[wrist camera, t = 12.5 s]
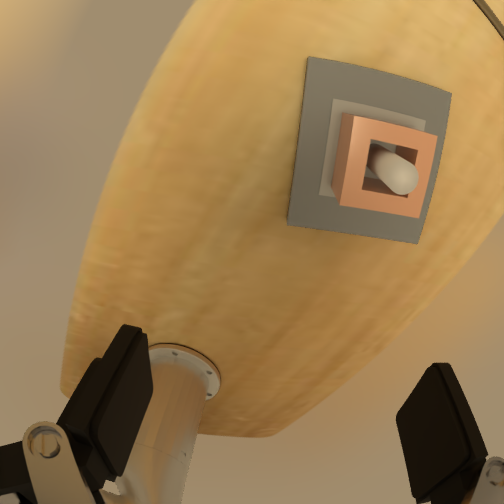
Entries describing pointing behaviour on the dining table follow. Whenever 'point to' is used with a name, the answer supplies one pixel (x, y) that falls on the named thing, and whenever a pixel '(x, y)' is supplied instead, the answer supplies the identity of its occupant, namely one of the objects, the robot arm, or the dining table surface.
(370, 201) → the collar
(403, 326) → the dining table surface
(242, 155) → the dining table surface
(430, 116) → the post board
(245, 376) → the dining table surface
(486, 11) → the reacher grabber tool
